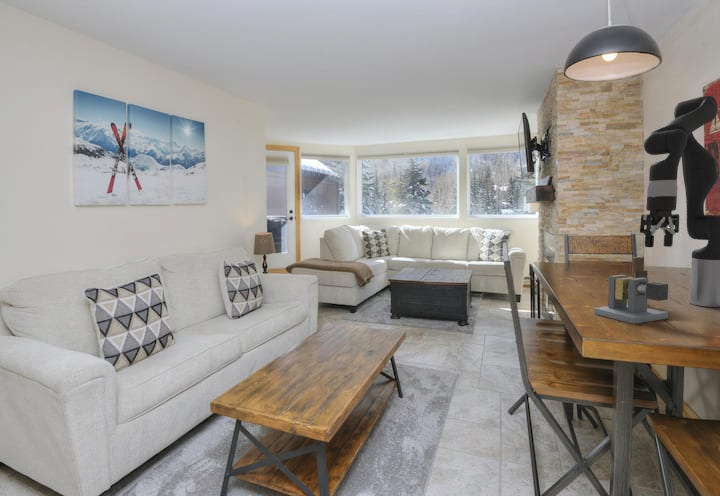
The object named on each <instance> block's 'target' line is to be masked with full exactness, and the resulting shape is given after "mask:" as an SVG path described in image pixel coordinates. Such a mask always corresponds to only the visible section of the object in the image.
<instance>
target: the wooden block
mask: <svg viewBox="0 0 720 496" xmlns="http://www.w3.org/2000/svg"><path fill="white" fill-rule="evenodd" d="M631 263H632V264H631V265H632V266H631V277H635V278H648V272H649V271H648V270H645V268H644V264H645V257H643V256H633V257H632V261H631ZM637 284H640V282H638V283H637ZM637 294H640V293H638V292H637Z"/></svg>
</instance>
